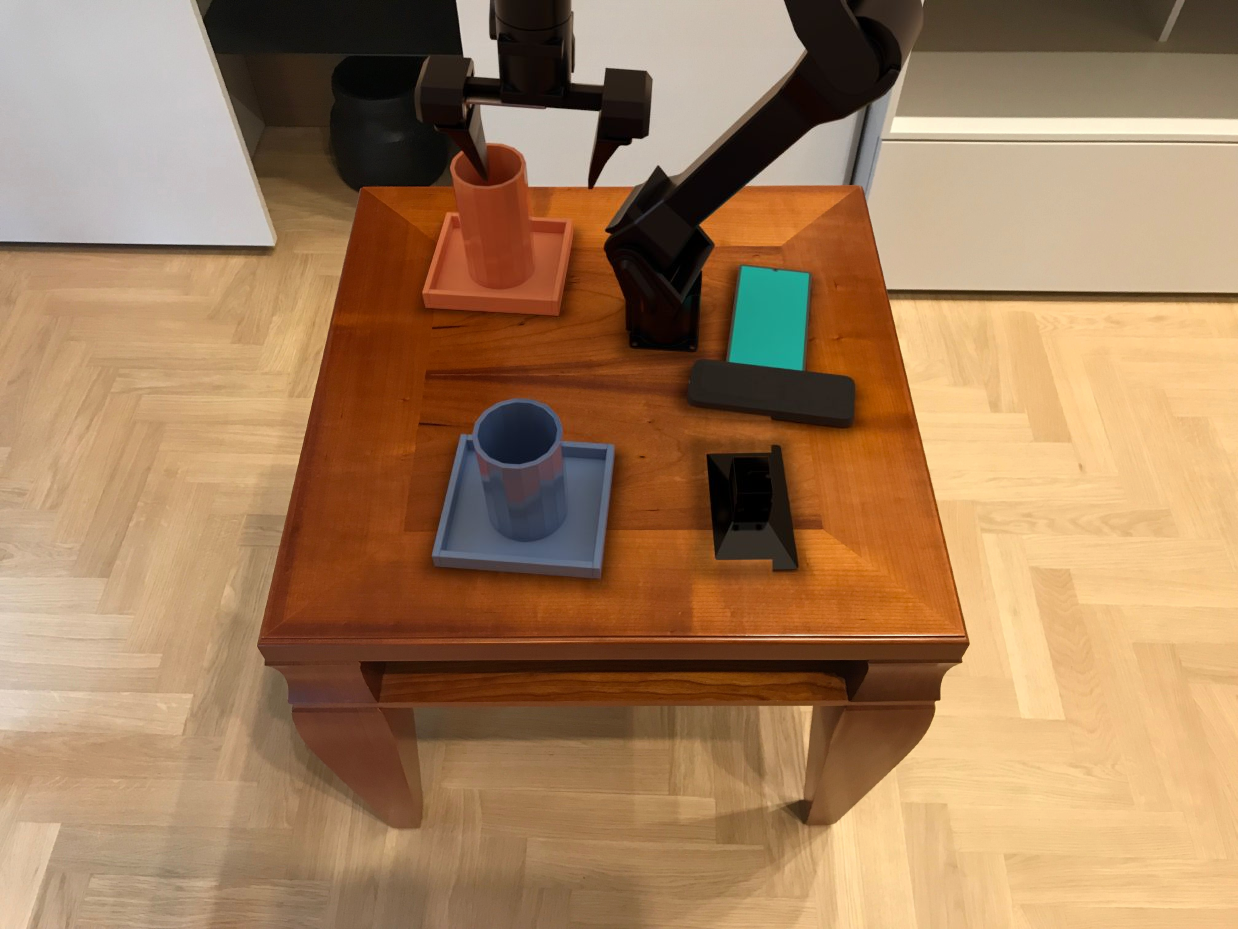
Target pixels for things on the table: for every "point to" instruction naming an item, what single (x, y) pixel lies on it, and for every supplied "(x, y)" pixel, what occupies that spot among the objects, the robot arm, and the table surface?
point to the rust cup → (495, 218)
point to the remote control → (773, 392)
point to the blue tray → (562, 553)
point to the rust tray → (533, 296)
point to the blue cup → (522, 468)
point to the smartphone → (770, 317)
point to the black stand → (751, 508)
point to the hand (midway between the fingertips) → (538, 182)
